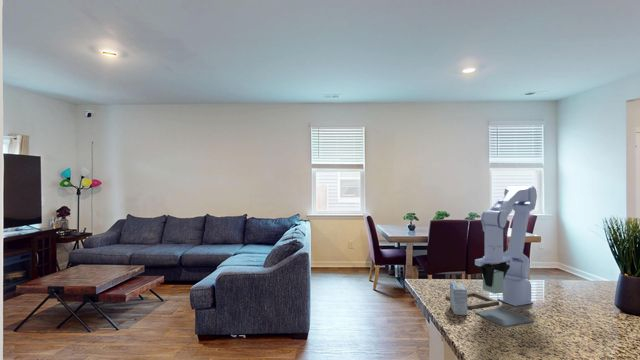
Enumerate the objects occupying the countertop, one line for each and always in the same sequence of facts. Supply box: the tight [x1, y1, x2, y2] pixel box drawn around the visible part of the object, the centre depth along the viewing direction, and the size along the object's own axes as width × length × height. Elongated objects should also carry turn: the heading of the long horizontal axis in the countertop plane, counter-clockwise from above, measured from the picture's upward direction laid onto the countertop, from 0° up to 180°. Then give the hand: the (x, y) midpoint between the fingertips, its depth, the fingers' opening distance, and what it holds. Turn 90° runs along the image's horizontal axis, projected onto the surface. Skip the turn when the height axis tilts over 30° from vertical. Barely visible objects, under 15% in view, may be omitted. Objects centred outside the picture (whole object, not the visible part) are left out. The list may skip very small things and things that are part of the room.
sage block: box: [482, 269, 504, 294], centre depth 118 cm, size 4×5×7 cm
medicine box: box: [449, 282, 469, 316], centre depth 120 cm, size 8×4×9 cm, turn 168°
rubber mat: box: [474, 307, 534, 328], centre depth 114 cm, size 12×12×1 cm
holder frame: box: [445, 291, 500, 310], centre depth 129 cm, size 14×12×1 cm
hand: (493, 285), depth 118 cm, fingers closed on sage block, 4 cm apart
